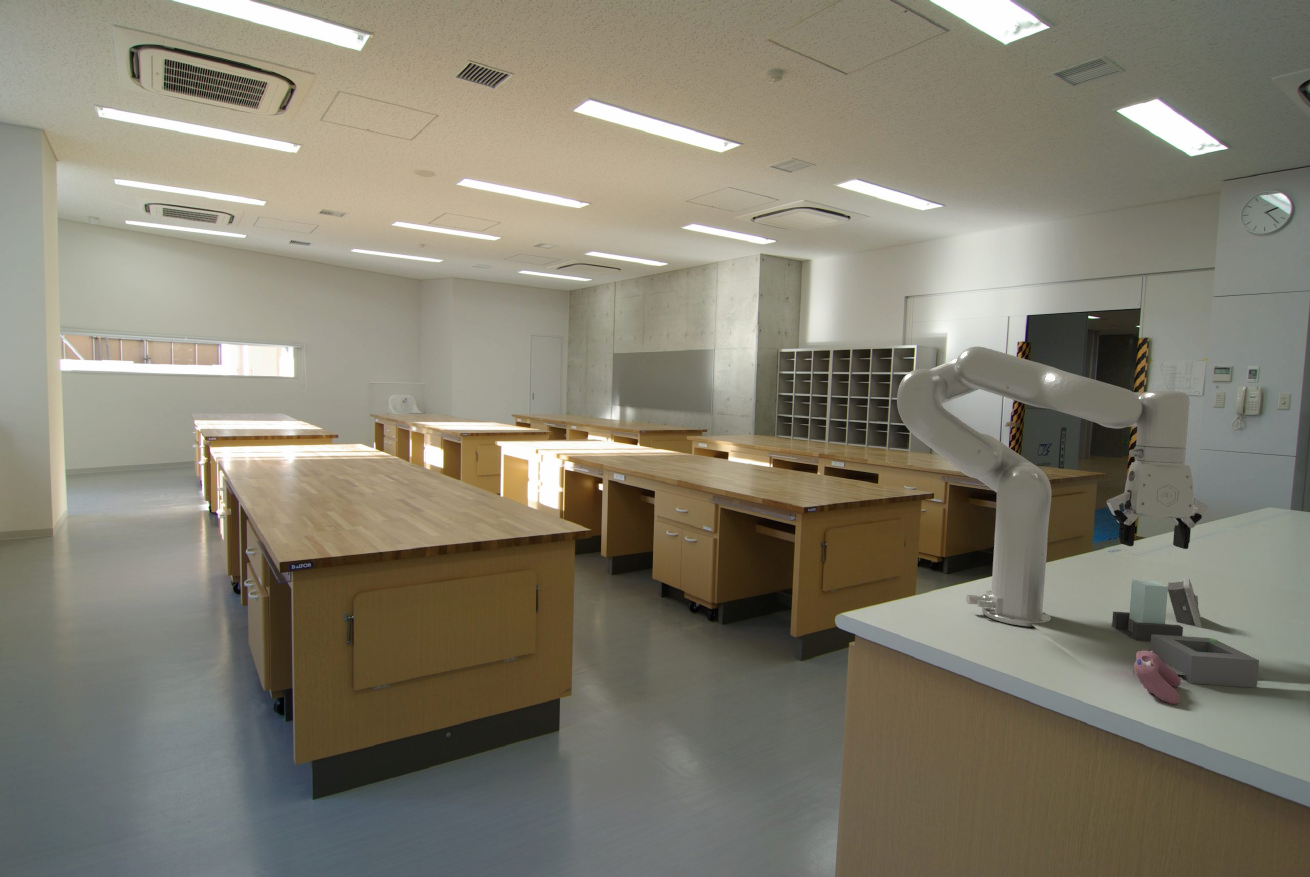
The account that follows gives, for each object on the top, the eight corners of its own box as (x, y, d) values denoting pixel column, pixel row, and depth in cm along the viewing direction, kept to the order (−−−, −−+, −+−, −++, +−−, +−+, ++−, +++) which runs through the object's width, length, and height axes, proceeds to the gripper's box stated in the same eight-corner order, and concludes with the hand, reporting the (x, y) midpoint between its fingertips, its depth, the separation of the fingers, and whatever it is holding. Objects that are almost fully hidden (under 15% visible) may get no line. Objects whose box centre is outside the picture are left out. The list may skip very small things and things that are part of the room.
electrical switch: (1202, 633, 132) (1200, 586, 132) (1169, 629, 135) (1167, 583, 136) (1201, 622, 140) (1199, 577, 140) (1170, 618, 143) (1168, 575, 143)
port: (1189, 683, 107) (1192, 653, 106) (1149, 659, 116) (1151, 631, 116) (1256, 687, 106) (1259, 657, 105) (1210, 663, 116) (1212, 635, 115)
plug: (1141, 637, 125) (1145, 585, 124) (1127, 630, 129) (1131, 579, 128) (1164, 638, 125) (1168, 586, 124) (1150, 631, 129) (1154, 580, 128)
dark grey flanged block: (1136, 645, 123) (1137, 624, 123) (1110, 630, 131) (1112, 611, 131) (1182, 648, 123) (1183, 627, 122) (1153, 633, 130) (1155, 613, 130)
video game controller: (1150, 689, 108) (1129, 646, 109) (1183, 684, 105) (1161, 640, 106) (1147, 709, 100) (1124, 663, 101) (1183, 705, 97) (1159, 657, 99)
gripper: (1123, 456, 122) (1117, 548, 123) (1224, 460, 120) (1216, 552, 121) (1100, 453, 129) (1094, 539, 130) (1194, 456, 128) (1187, 544, 129)
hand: (1153, 546), depth 126 cm, fingers open, 9 cm apart
